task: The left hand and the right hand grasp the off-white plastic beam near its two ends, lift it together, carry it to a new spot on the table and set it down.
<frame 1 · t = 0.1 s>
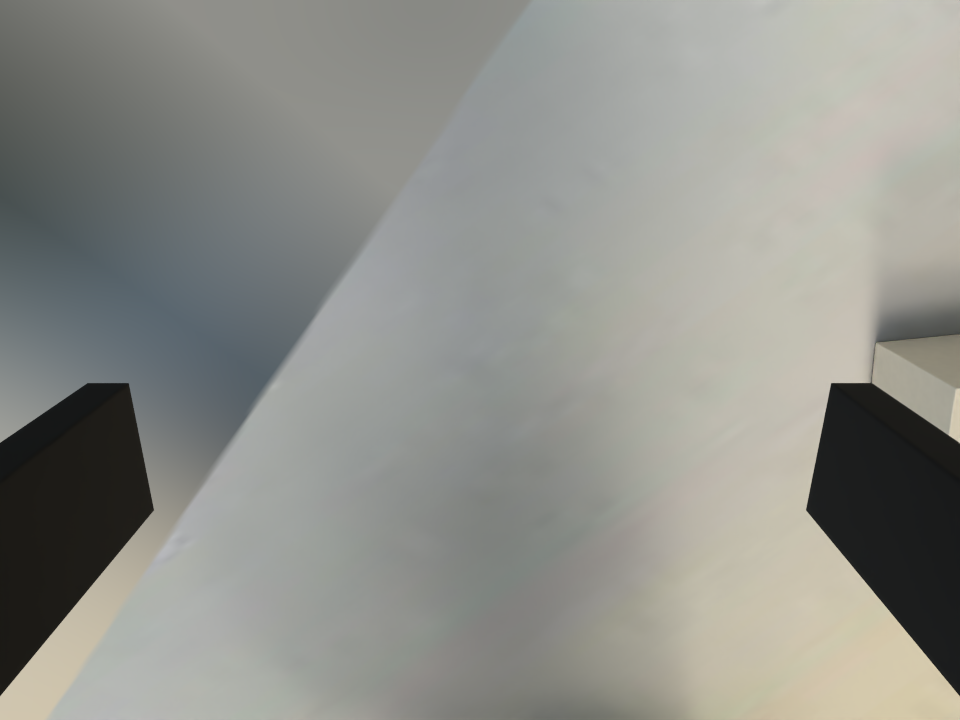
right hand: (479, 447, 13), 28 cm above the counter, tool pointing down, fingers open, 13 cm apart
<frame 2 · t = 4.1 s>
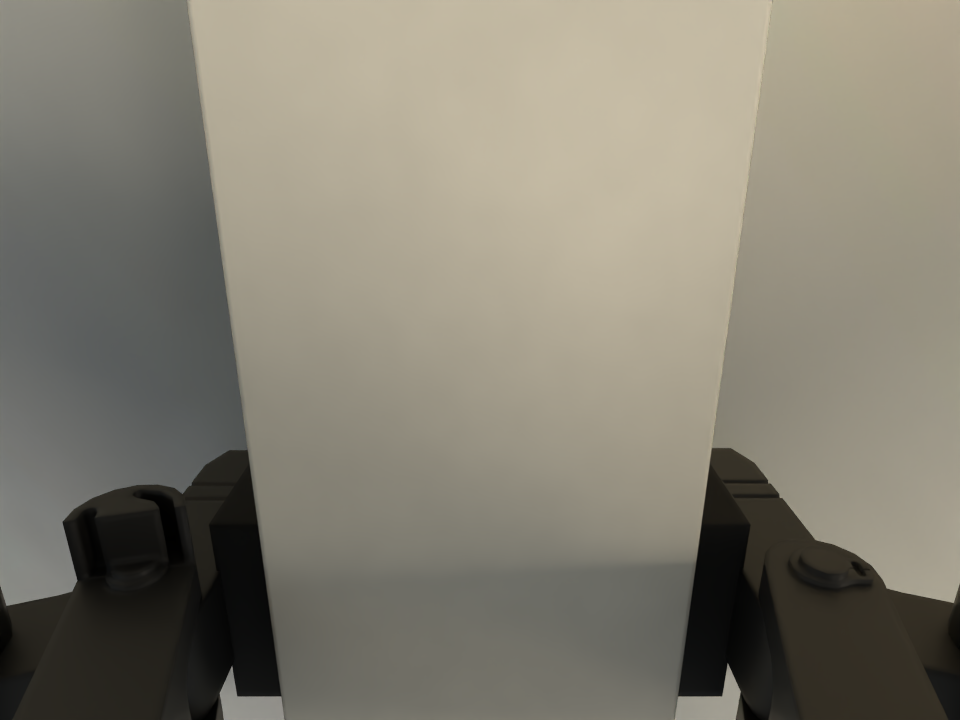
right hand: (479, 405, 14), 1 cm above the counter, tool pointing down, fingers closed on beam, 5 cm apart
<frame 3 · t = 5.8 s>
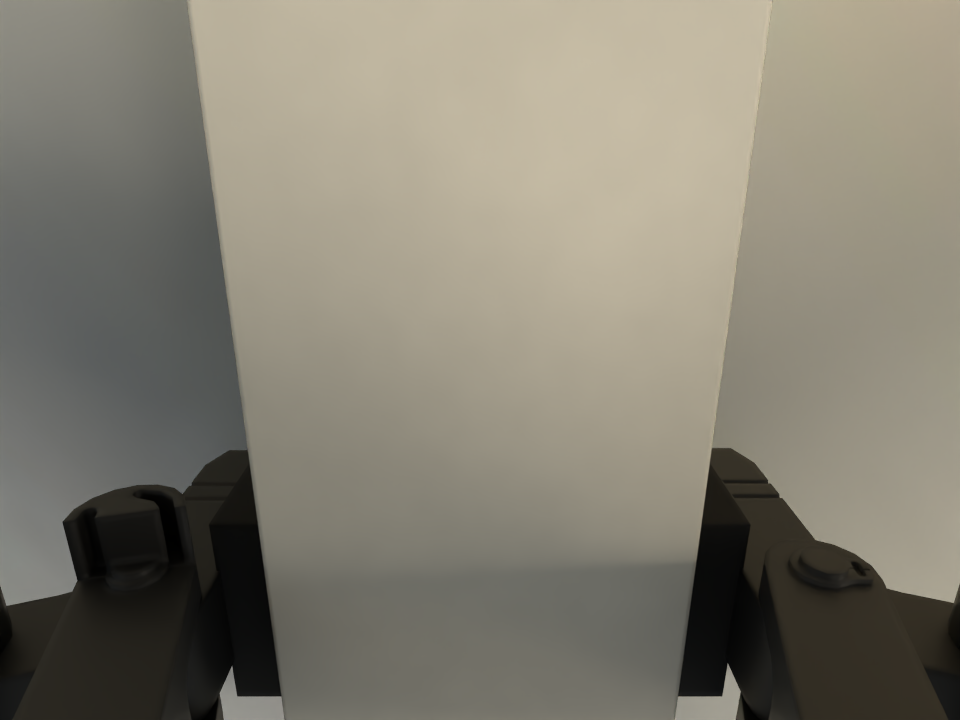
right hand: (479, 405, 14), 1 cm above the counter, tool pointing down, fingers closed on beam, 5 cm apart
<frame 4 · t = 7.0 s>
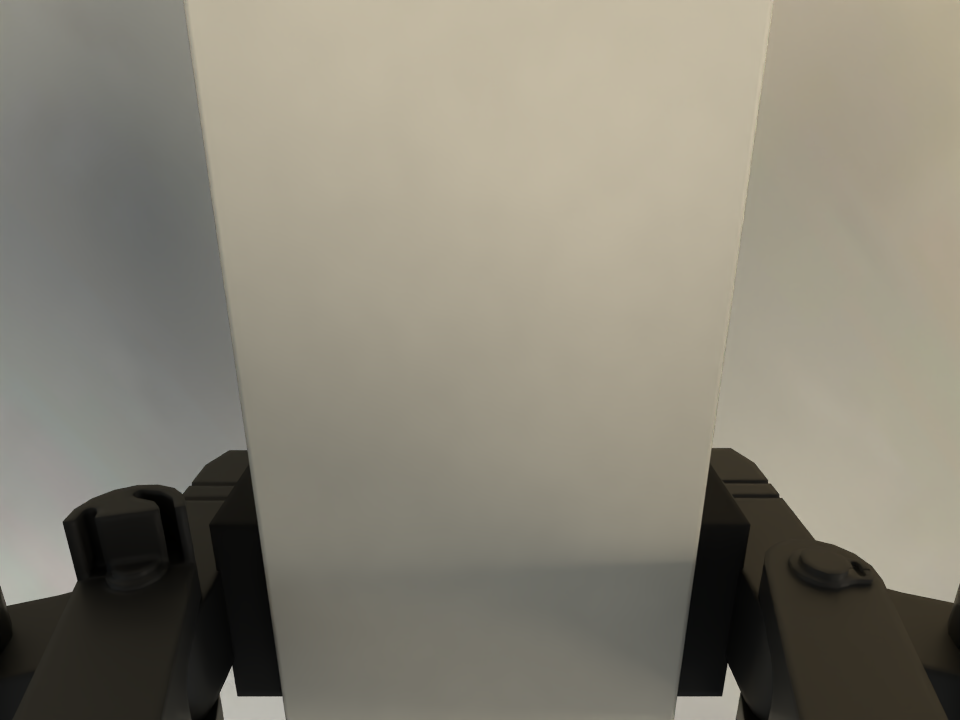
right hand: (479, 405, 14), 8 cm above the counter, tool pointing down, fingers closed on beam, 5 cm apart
when the right hand's fingers open (2 cm above the counter, at t = 10.3 s): beam stays where it is, on the counter.
when the left hand's fingers open (4 cm above the counter, at t = 10.5 s): beam stays where it is, on the counter.
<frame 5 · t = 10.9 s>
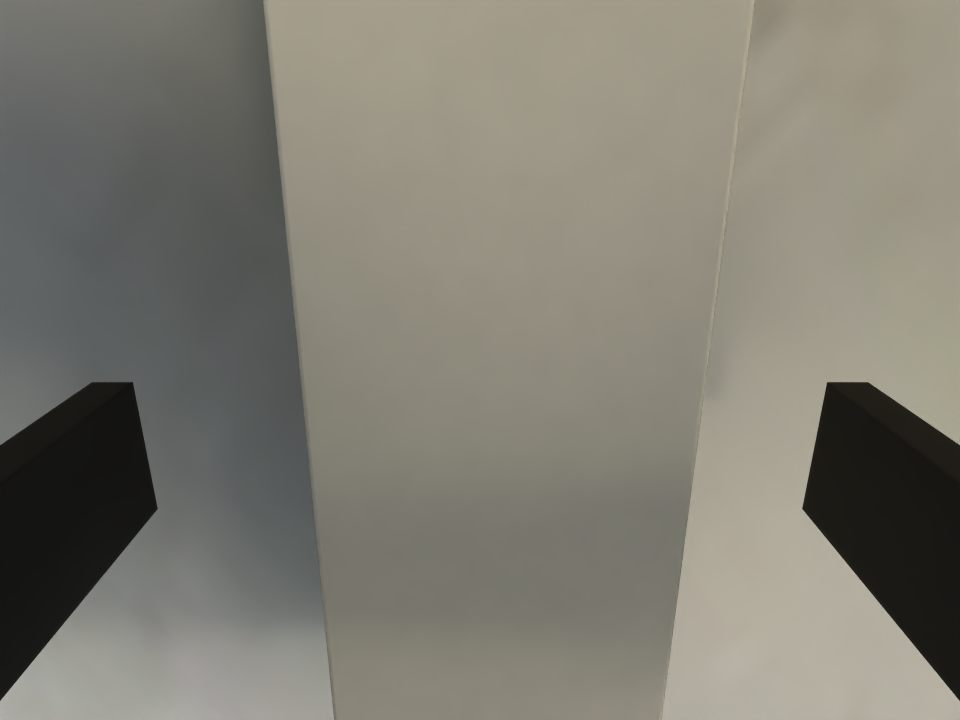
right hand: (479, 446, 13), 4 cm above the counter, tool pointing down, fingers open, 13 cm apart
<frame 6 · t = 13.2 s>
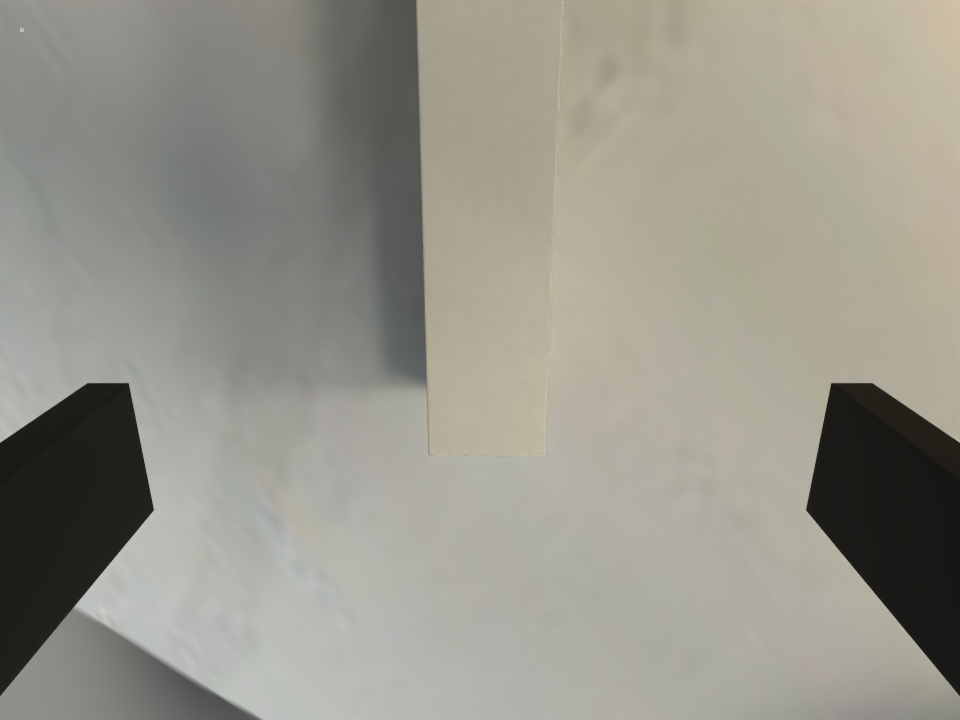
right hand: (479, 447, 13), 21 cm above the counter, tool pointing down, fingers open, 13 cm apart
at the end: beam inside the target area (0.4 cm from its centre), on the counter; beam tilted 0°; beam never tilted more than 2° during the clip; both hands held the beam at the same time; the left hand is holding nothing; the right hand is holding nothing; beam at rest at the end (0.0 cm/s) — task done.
